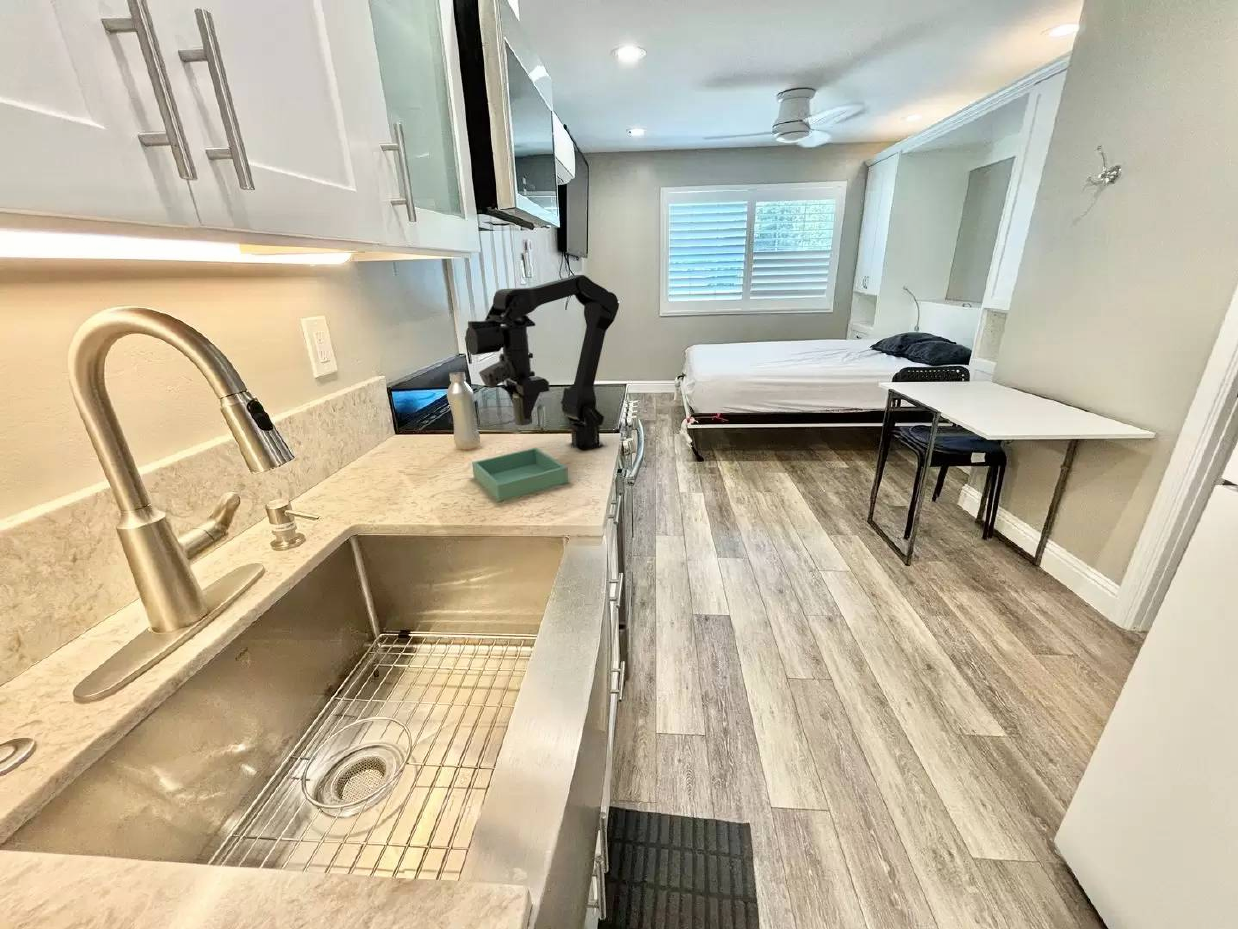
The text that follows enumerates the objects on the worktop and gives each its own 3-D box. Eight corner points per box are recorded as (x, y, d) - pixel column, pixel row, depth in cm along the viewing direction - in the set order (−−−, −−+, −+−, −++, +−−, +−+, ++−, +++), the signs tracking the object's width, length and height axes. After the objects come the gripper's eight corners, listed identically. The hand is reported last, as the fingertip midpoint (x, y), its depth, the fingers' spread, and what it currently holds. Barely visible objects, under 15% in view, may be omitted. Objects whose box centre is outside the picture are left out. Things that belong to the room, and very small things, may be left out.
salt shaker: (528, 419, 118) (524, 390, 115) (535, 423, 114) (532, 393, 112) (512, 422, 115) (508, 393, 113) (519, 426, 112) (516, 396, 110)
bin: (537, 464, 118) (536, 447, 117) (568, 485, 106) (567, 467, 105) (474, 480, 110) (471, 462, 109) (500, 505, 98) (497, 485, 97)
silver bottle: (474, 452, 127) (463, 376, 119) (450, 451, 128) (438, 375, 121) (485, 444, 133) (475, 370, 125) (462, 443, 134) (451, 370, 127)
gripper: (466, 348, 112) (475, 414, 117) (497, 359, 97) (506, 433, 103) (511, 343, 117) (519, 406, 123) (547, 352, 103) (553, 423, 109)
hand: (523, 416), depth 114 cm, fingers closed on salt shaker, 4 cm apart
